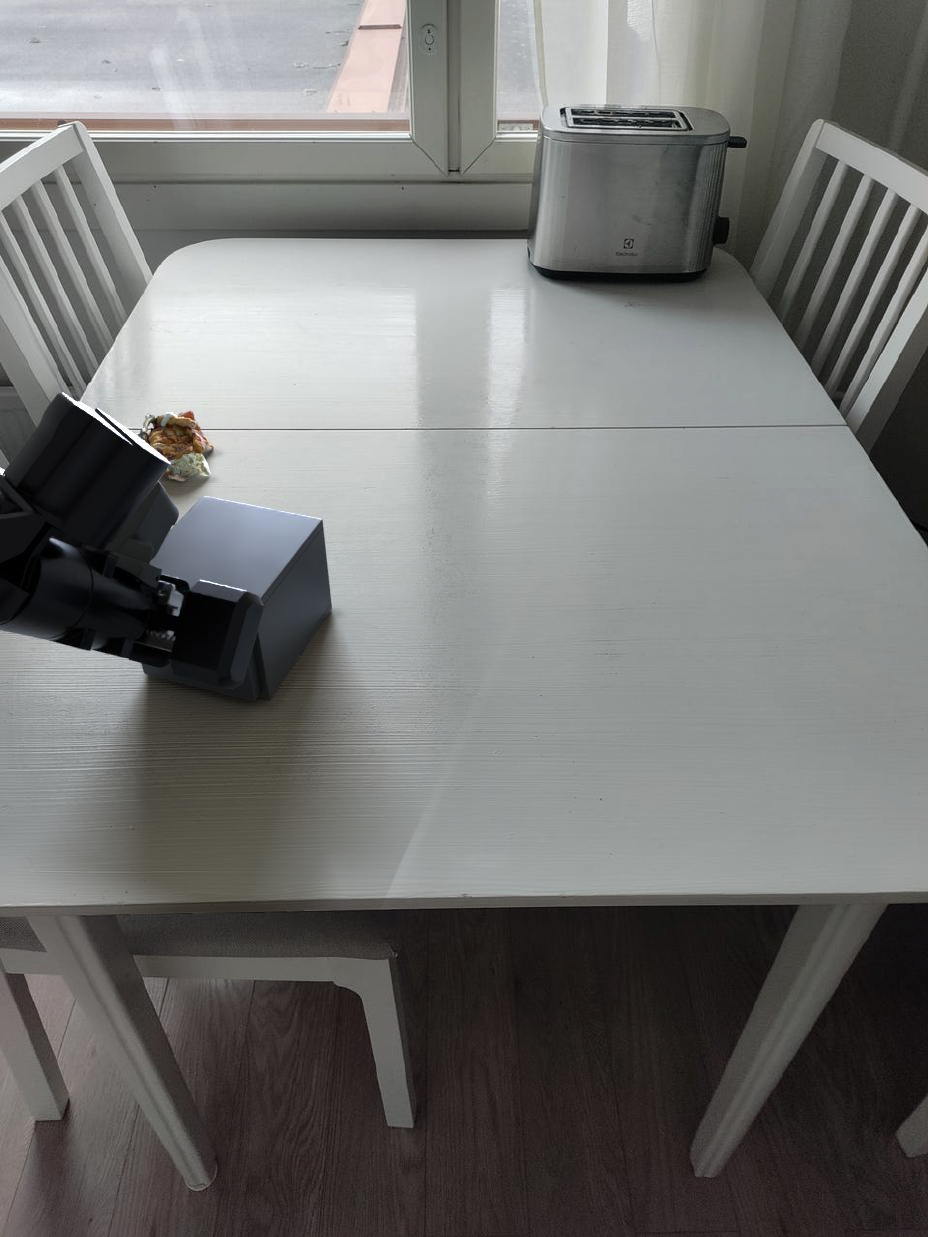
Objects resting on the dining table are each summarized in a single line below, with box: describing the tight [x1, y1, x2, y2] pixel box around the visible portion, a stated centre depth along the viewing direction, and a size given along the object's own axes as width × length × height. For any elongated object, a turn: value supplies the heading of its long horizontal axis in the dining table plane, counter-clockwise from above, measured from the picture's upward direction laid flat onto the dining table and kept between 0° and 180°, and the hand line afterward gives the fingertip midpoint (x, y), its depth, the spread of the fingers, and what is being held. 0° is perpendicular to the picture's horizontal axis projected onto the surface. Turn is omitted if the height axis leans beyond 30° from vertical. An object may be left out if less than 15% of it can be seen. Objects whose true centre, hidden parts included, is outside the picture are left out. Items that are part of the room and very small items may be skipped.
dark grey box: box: [150, 495, 333, 701], centre depth 77 cm, size 12×11×9 cm
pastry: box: [134, 410, 215, 482], centre depth 102 cm, size 7×12×4 cm, turn 32°
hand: (183, 628), depth 70 cm, fingers closed, pressing on fryer drawer
